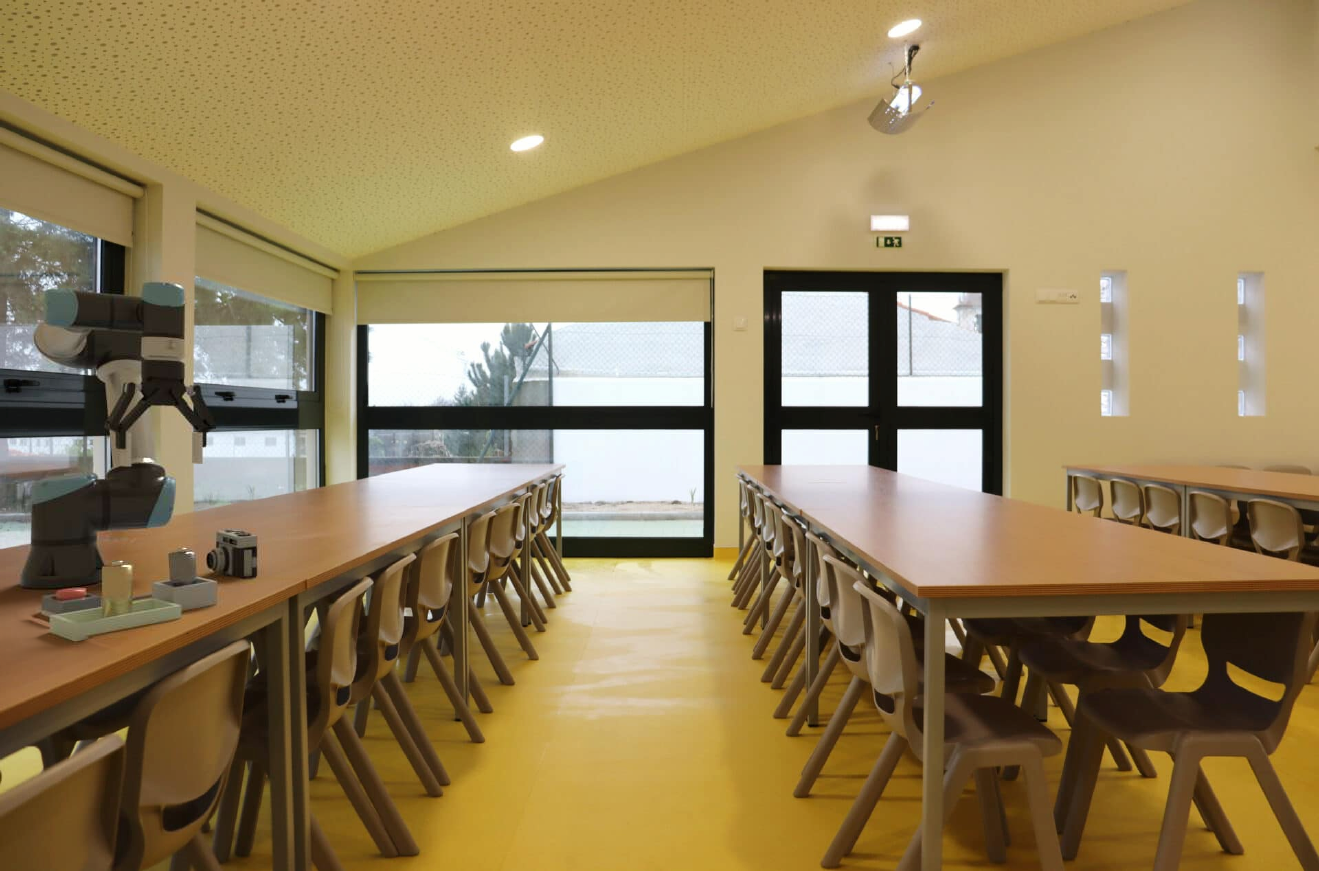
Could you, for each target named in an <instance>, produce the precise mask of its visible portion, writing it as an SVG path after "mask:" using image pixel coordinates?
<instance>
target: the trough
mask: <svg viewBox="0 0 1319 871" xmlns="http://www.w3.org/2000/svg"><path fill="white" fill-rule="evenodd" d="M178 619H182V611H181V605H178V604H174V603H170V602H167V601H163V600H160V599H156V598H153V599H152V598H146V599H140V600H134V601H133V607H132V613H130V614H125V615H119V616H113V617H108V618H102V606H101V607H99V608H93V609H87V610H81V611H75V612H69V613H63V614H57V615H51V616H50V617H49V633H51V634H54V635H56V636H59V637H61V638H65V639H67V640H69V641H73V642H79V641H85V640H89V639H93V637H92V636H94V635H98V634H104V633H108V632H109V633H110V632H115V631H120V630H124V629H130V628H135V627H141V626H145V625H151V624H156V623H162V622H167V621H173V620H178Z"/></svg>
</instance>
